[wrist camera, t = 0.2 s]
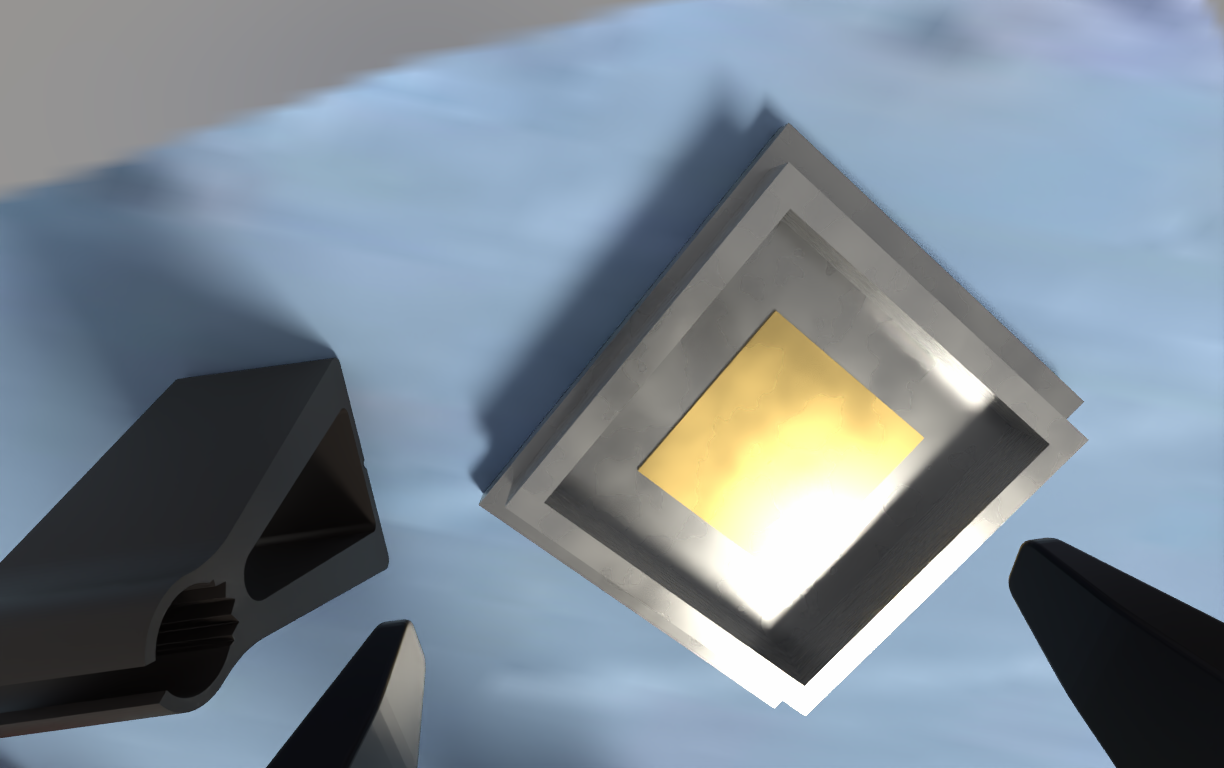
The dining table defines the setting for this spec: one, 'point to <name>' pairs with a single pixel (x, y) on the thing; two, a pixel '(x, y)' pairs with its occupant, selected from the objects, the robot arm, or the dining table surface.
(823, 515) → the square tray
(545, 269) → the dining table surface
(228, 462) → the phone stand
